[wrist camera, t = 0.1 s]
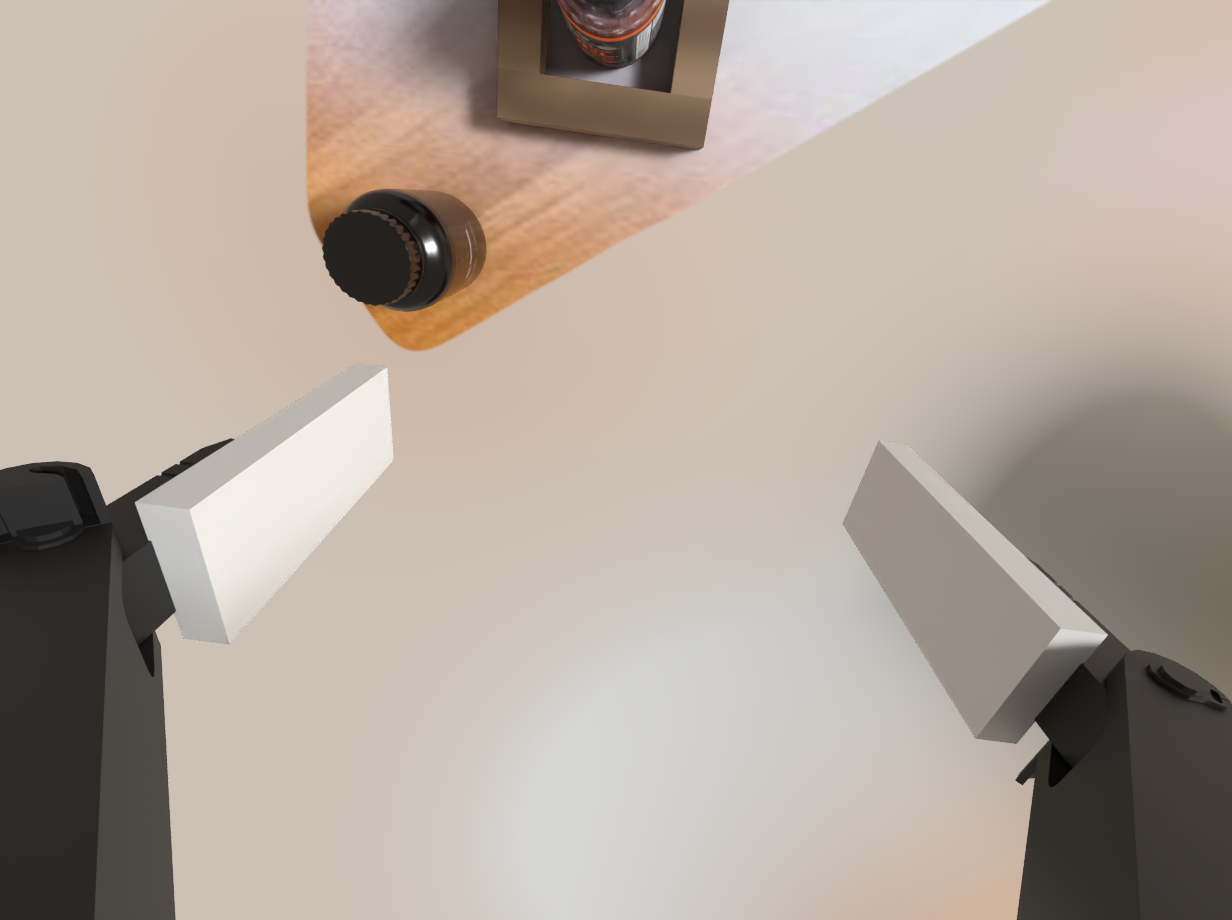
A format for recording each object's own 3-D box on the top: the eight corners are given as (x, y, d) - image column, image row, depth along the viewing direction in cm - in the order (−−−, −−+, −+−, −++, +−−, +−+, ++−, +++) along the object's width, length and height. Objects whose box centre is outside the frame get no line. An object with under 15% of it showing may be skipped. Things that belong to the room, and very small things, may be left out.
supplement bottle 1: (506, 262, 38) (457, 290, 27) (434, 306, 40) (361, 349, 29) (451, 169, 35) (373, 160, 25) (376, 220, 37) (272, 233, 26)
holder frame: (511, -161, 28) (500, -192, 26) (746, -123, 28) (755, -150, 26) (505, 121, 34) (496, 117, 32) (698, 149, 34) (703, 147, 32)
